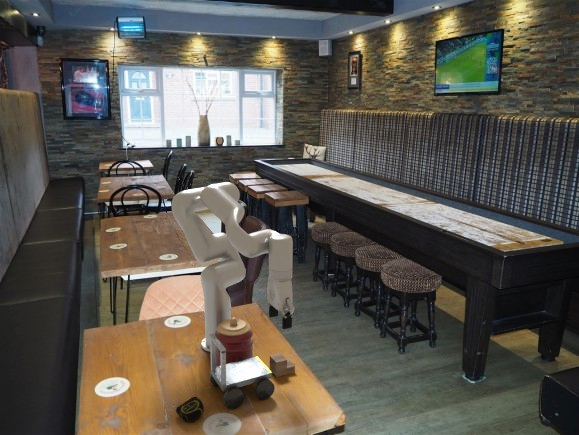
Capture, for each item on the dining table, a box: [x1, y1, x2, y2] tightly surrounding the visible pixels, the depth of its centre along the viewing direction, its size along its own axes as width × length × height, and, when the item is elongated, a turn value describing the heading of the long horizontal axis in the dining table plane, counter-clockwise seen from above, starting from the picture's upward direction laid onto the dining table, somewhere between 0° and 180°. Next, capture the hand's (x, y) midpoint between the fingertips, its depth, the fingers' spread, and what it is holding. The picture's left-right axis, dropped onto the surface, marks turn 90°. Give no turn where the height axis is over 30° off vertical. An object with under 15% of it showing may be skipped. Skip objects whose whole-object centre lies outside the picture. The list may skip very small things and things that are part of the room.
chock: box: [269, 352, 296, 378], centre depth 162 cm, size 5×7×6 cm
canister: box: [215, 316, 254, 367], centre depth 164 cm, size 13×13×18 cm
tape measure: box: [175, 396, 205, 423], centre depth 137 cm, size 7×7×4 cm
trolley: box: [208, 334, 275, 410], centre depth 148 cm, size 14×16×19 cm
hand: (280, 322), depth 157 cm, fingers open, 9 cm apart
